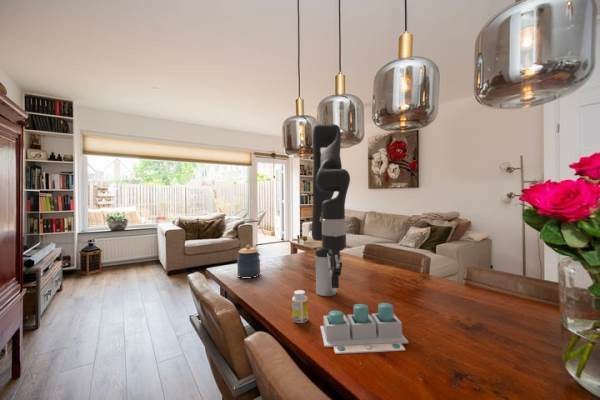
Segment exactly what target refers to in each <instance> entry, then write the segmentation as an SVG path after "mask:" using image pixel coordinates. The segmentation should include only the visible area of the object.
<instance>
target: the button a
mask: <svg viewBox="0 0 600 400" xmlns="http://www.w3.org/2000/svg"><path fill="white" fill-rule="evenodd" d="M343 315H344V312H343V311H341V310H331V311H330V310H329V312H328V316H329V325H330V324H344V323H343Z"/></svg>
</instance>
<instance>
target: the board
mask: <svg viewBox="0 0 600 400" xmlns="http://www.w3.org/2000/svg"><path fill="white" fill-rule="evenodd" d="M368 315H369V323H355V322H354V313H353V314H347V316H346V315H345V314H343V323H344V324H330V325H329V315H323V325H320V326H319V328H320V332H321V337H322V340H323V346H324V347H325V348H333V346H348V345H369V344H390V343H401V344H402V345H403V344H409V340H408V339H407V338H406V337H405V336H404V334H403V325H402V324H403V323H402V321H401V320H400V319H399V318H398V317H397V316H396V314H394V322H380V321H379V318H378V312H377V313H371V314H370V313H368Z"/></svg>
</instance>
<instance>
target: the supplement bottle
mask: <svg viewBox="0 0 600 400" xmlns="http://www.w3.org/2000/svg"><path fill="white" fill-rule="evenodd" d="M291 302H292V303H291V307H292V309H291V311H292V321H293V322H295V323H297V324H304V323H306V322H308V320H309V311H308V310H309V308H308V307H309V302H308V297H307V296H306V291H305V290H302V289H299V290H295V291H293V296H292V299H291Z"/></svg>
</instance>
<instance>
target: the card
mask: <svg viewBox="0 0 600 400" xmlns="http://www.w3.org/2000/svg"><path fill="white" fill-rule="evenodd" d="M332 348H333V351H334V353H335V355H339V354H340V355H341V354H359V353H360V354H361V353H362V354H363V353H380V352H381V353H382V352H399V351H400V352H402V351H406V348H405V347H404V344H403V343H402V344H401V343H390V344H369V345H348V346H333V347H332Z"/></svg>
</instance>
